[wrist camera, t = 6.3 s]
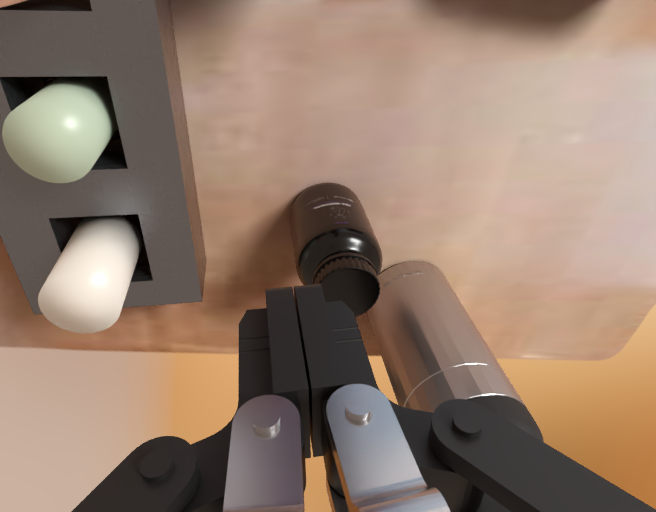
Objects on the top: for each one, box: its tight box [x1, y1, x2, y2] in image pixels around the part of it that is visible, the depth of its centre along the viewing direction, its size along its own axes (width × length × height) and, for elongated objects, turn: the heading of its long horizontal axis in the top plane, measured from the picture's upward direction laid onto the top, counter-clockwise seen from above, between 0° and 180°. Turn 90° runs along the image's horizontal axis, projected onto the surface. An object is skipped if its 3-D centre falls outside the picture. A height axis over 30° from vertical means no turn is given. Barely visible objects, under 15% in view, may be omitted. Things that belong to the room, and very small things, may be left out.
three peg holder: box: [0, 0, 206, 314], centre depth 32 cm, size 30×13×6 cm, turn 178°
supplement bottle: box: [290, 183, 382, 317], centre depth 38 cm, size 7×7×12 cm
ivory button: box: [38, 215, 142, 333], centre depth 33 cm, size 5×5×8 cm
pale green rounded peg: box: [2, 76, 118, 183], centre depth 30 cm, size 5×5×8 cm
